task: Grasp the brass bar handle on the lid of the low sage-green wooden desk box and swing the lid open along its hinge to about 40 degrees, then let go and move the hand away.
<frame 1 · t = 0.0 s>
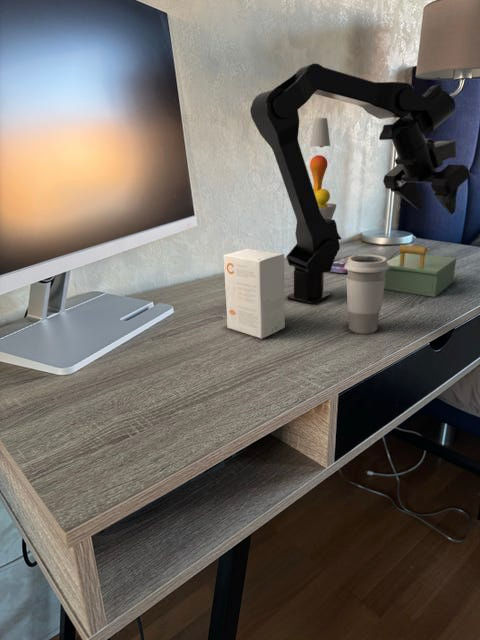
hand: (436, 210, 96), 15 cm above the table, tool tilted 35°, fingers open, 9 cm apart
cup: (362, 329, 75), on the table
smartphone: (347, 266, 113), on the table
box lid: (419, 253, 93), point 7 cm above the table, hinge at 0.0°
small box: (256, 329, 77), on the table
desk box: (416, 285, 96), on the table
lava lamp: (316, 263, 117), on the table
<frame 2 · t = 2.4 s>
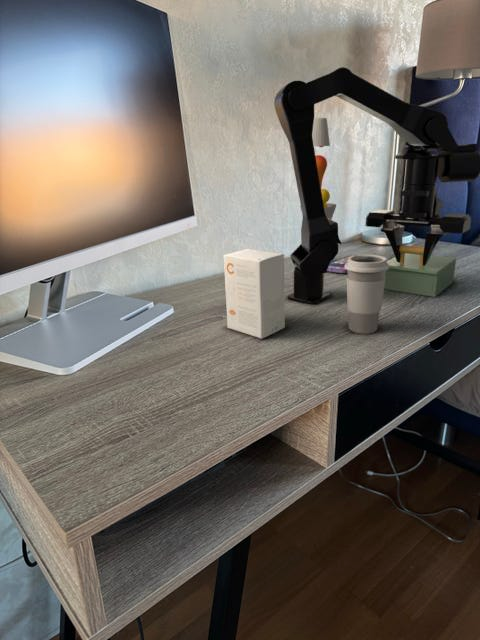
hand: (411, 263, 91), 6 cm above the table, tool pointing down, fingers closed on box lid, 5 cm apart
box lid: (419, 253, 93), point 7 cm above the table, hinge at 0.0°, touching gripper
everything else where it was.
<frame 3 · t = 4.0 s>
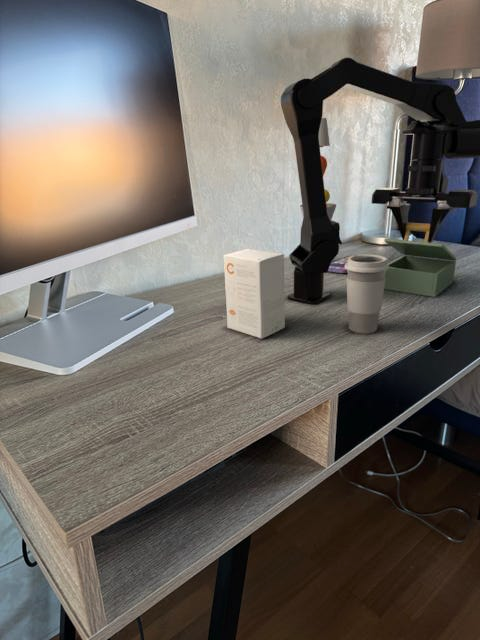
hand: (417, 241, 90), 10 cm above the table, tool pointing down, fingers closed on box lid, 5 cm apart
box lid: (423, 240, 93), point 10 cm above the table, hinge at 24.0°, touching gripper
everything else where it was.
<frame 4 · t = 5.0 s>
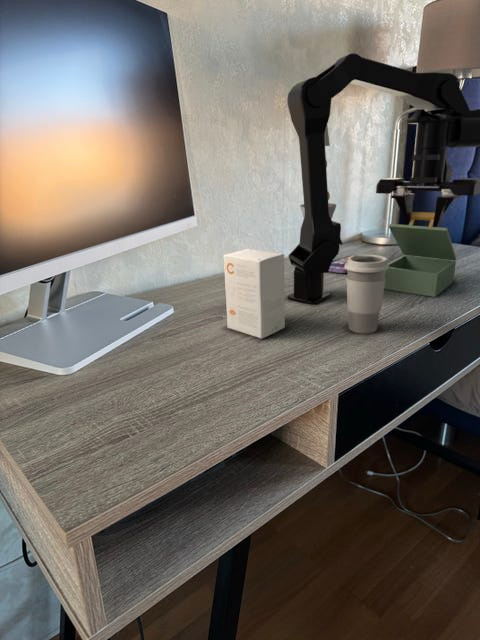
hand: (421, 230, 91), 12 cm above the table, tool pointing down, fingers closed on box lid, 5 cm apart
box lid: (426, 233, 94), point 11 cm above the table, hinge at 38.3°, touching gripper
everything else where it was.
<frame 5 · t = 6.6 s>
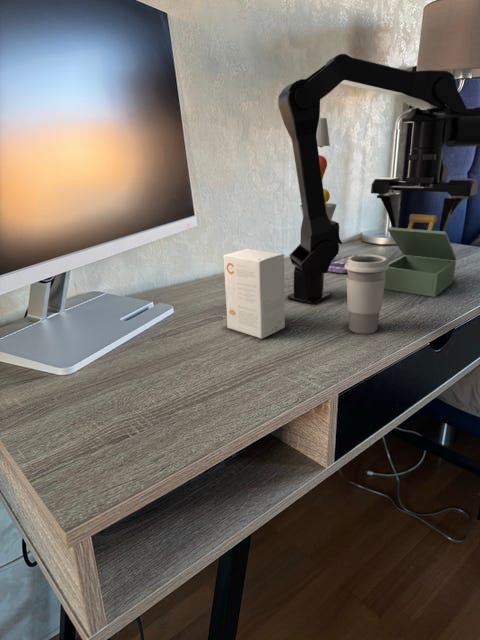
hand: (417, 231, 90), 12 cm above the table, tool pointing down, fingers open, 9 cm apart
box lid: (425, 235, 94), point 10 cm above the table, hinge at 34.8°
everything else where it was.
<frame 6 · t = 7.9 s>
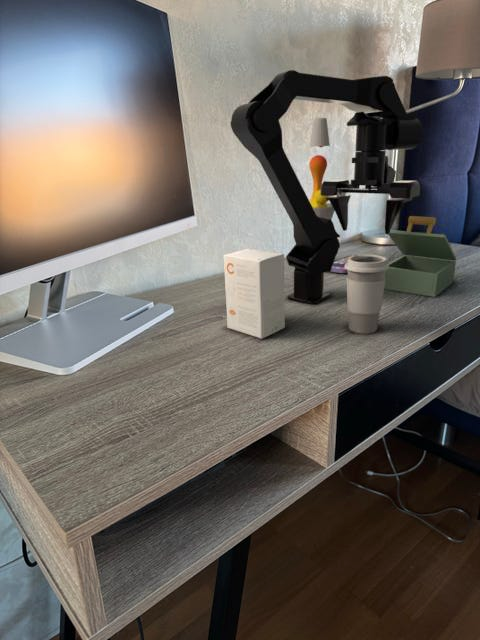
hand: (365, 232, 91), 12 cm above the table, tool pointing down, fingers open, 9 cm apart
box lid: (424, 236, 94), point 10 cm above the table, hinge at 32.1°
everything else where it was.
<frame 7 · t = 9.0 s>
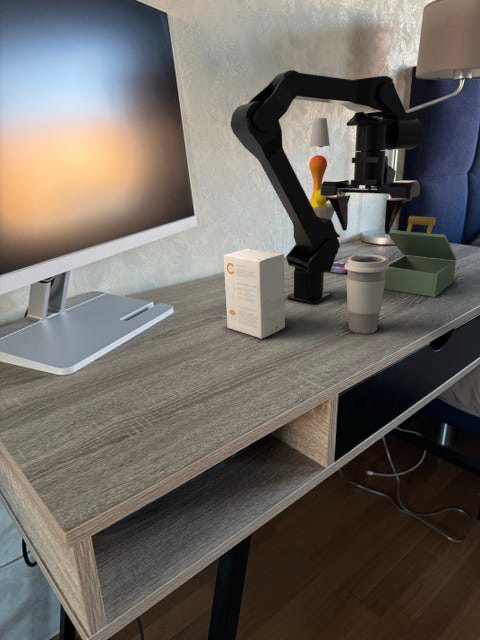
hand: (365, 232, 91), 12 cm above the table, tool pointing down, fingers open, 9 cm apart
nothing on the table moved.
at the end: box lid at +32° (first picture: +0°); the gripper is holding nothing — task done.
